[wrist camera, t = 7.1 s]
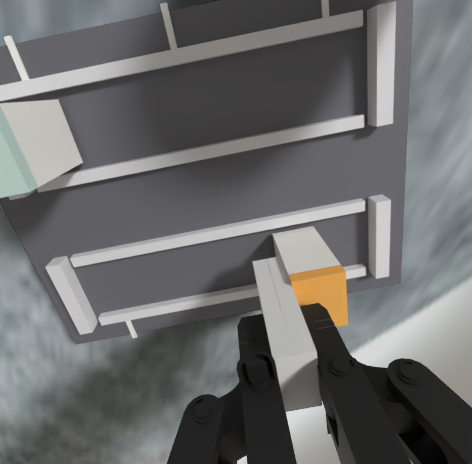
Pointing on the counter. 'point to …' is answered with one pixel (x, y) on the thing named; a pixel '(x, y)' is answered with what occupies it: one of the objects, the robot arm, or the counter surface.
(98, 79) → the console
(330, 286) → the fader
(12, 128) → the block
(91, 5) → the counter surface
